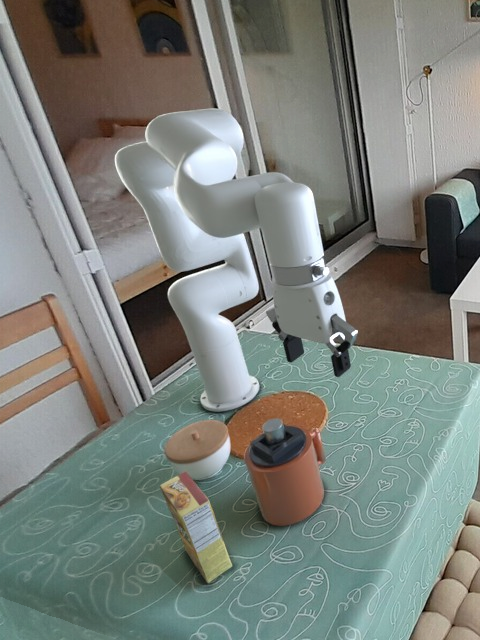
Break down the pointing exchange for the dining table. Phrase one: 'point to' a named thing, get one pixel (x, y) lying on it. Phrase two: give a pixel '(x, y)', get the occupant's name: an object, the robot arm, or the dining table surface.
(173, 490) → the candy box
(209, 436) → the trinket box
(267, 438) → the jug button
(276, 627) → the dining table surface
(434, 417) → the dining table surface
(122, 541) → the dining table surface
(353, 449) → the dining table surface
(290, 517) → the jug
